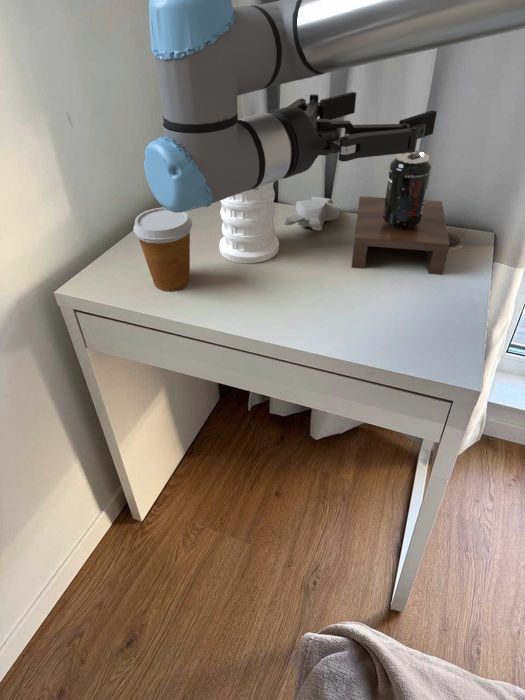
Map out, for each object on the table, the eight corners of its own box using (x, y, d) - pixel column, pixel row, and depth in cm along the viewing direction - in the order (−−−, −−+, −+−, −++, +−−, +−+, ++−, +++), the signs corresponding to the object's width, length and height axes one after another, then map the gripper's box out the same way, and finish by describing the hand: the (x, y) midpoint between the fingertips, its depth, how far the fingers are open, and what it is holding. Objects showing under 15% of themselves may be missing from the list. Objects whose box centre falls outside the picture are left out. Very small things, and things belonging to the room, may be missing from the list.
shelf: (442, 274, 88) (449, 244, 84) (351, 267, 91) (354, 237, 87) (435, 229, 102) (441, 201, 98) (356, 223, 104) (359, 196, 100)
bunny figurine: (346, 195, 105) (325, 216, 94) (343, 219, 108) (322, 242, 97) (304, 189, 108) (279, 209, 97) (302, 212, 111) (277, 234, 100)
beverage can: (427, 222, 90) (441, 156, 83) (405, 235, 87) (417, 166, 79) (396, 211, 94) (407, 146, 87) (374, 222, 91) (383, 156, 83)
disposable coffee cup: (133, 285, 88) (119, 221, 80) (172, 262, 93) (162, 201, 86) (171, 302, 83) (160, 237, 75) (209, 278, 89) (203, 215, 81)
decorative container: (207, 247, 97) (198, 154, 86) (252, 229, 103) (249, 139, 92) (245, 270, 91) (240, 172, 79) (291, 249, 96) (292, 154, 85)
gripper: (213, 153, 68) (324, 121, 78) (349, 211, 53) (464, 162, 63) (209, 92, 63) (327, 67, 73) (356, 138, 48) (479, 98, 58)
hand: (390, 111), depth 68 cm, fingers open, 13 cm apart
